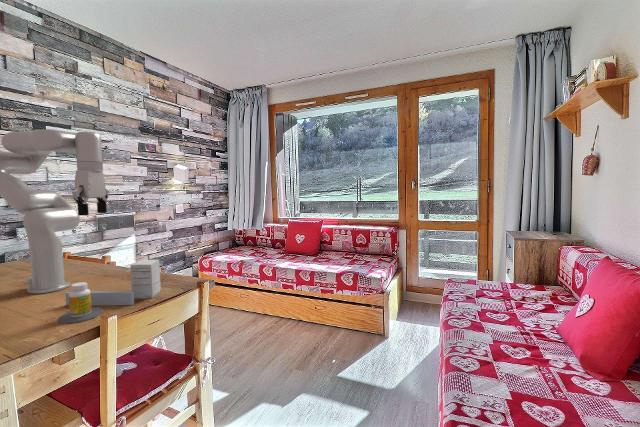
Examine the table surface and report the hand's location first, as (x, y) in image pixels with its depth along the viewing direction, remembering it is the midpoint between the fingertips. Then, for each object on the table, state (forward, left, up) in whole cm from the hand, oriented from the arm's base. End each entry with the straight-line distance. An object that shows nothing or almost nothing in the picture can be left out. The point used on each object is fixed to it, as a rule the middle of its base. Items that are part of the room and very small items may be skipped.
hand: (93, 213), depth 113 cm
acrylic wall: (+8, -11, -30) cm, 33 cm away
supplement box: (+19, -2, -31) cm, 36 cm away
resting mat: (+8, -20, -30) cm, 37 cm away
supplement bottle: (+8, -20, -30) cm, 37 cm away
